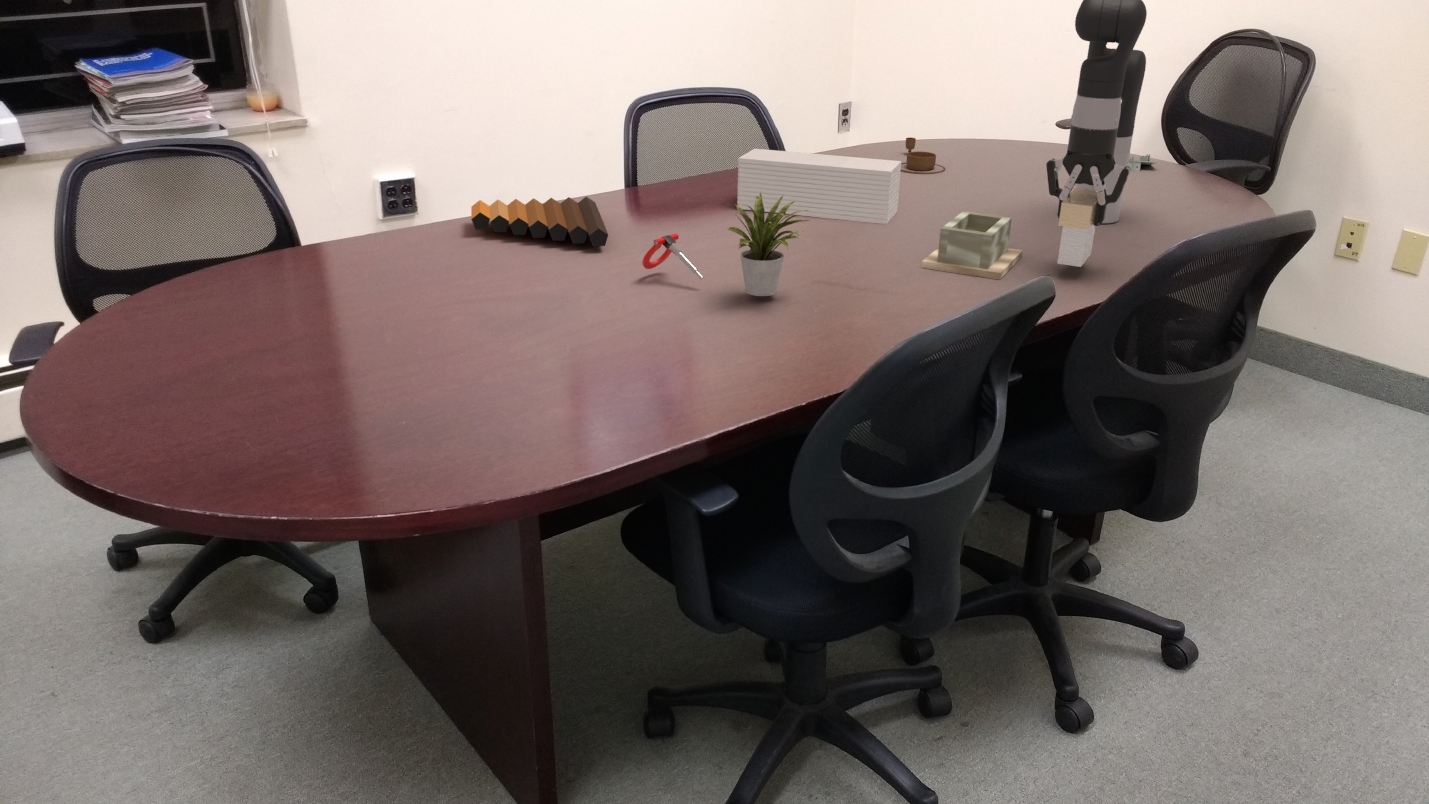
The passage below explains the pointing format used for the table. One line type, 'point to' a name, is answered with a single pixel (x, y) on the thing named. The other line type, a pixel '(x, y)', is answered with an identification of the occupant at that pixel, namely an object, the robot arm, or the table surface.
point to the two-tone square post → (1077, 226)
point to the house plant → (763, 247)
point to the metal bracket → (1139, 162)
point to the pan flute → (544, 219)
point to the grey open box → (974, 246)
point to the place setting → (919, 159)
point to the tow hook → (667, 253)
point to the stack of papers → (820, 184)
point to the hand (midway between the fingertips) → (1079, 222)
